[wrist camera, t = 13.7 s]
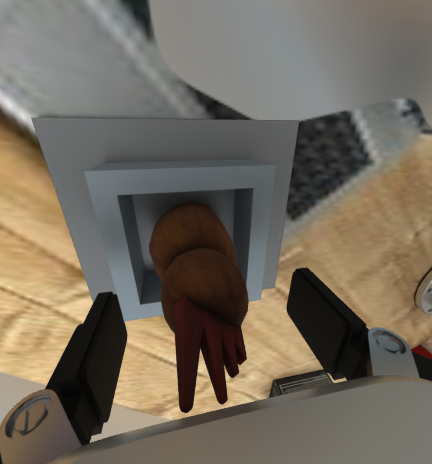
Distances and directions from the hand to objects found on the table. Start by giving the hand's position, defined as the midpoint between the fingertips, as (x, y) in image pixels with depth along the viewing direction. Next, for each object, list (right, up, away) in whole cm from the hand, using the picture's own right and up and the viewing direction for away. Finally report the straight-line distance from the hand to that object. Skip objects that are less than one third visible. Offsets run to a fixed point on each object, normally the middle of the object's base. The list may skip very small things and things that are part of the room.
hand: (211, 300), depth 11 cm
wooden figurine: (-2, +4, +9) cm, 10 cm away
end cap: (-3, +5, +9) cm, 11 cm away
